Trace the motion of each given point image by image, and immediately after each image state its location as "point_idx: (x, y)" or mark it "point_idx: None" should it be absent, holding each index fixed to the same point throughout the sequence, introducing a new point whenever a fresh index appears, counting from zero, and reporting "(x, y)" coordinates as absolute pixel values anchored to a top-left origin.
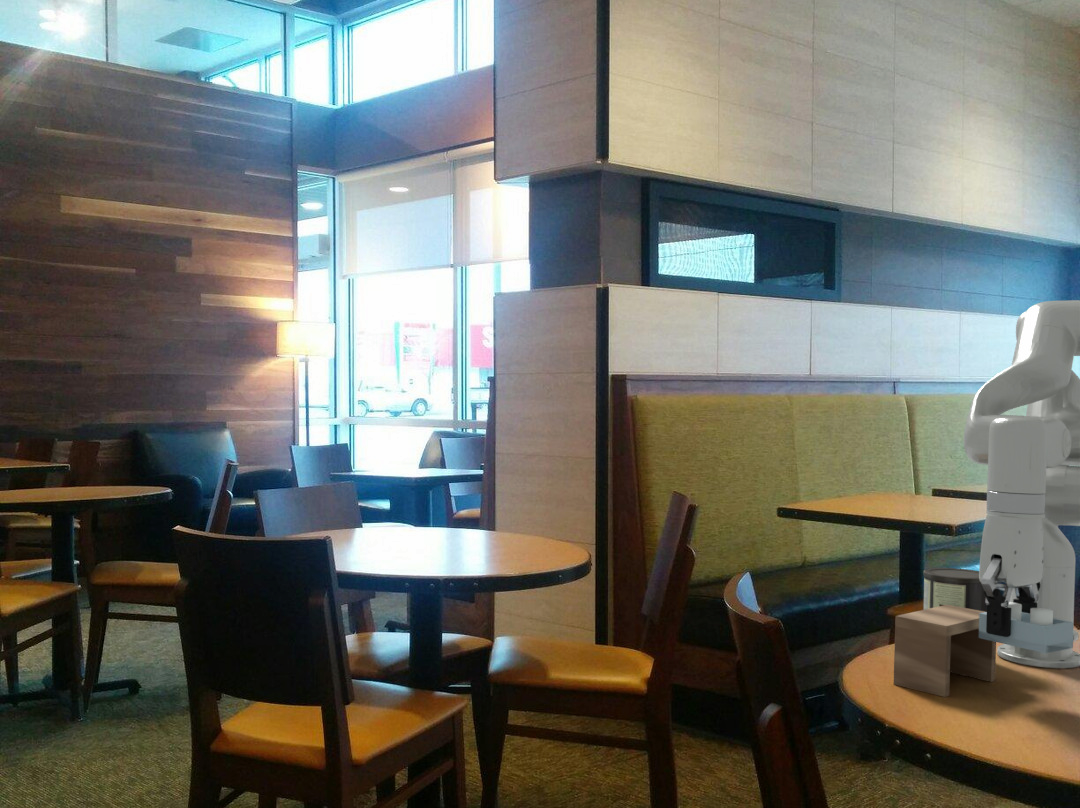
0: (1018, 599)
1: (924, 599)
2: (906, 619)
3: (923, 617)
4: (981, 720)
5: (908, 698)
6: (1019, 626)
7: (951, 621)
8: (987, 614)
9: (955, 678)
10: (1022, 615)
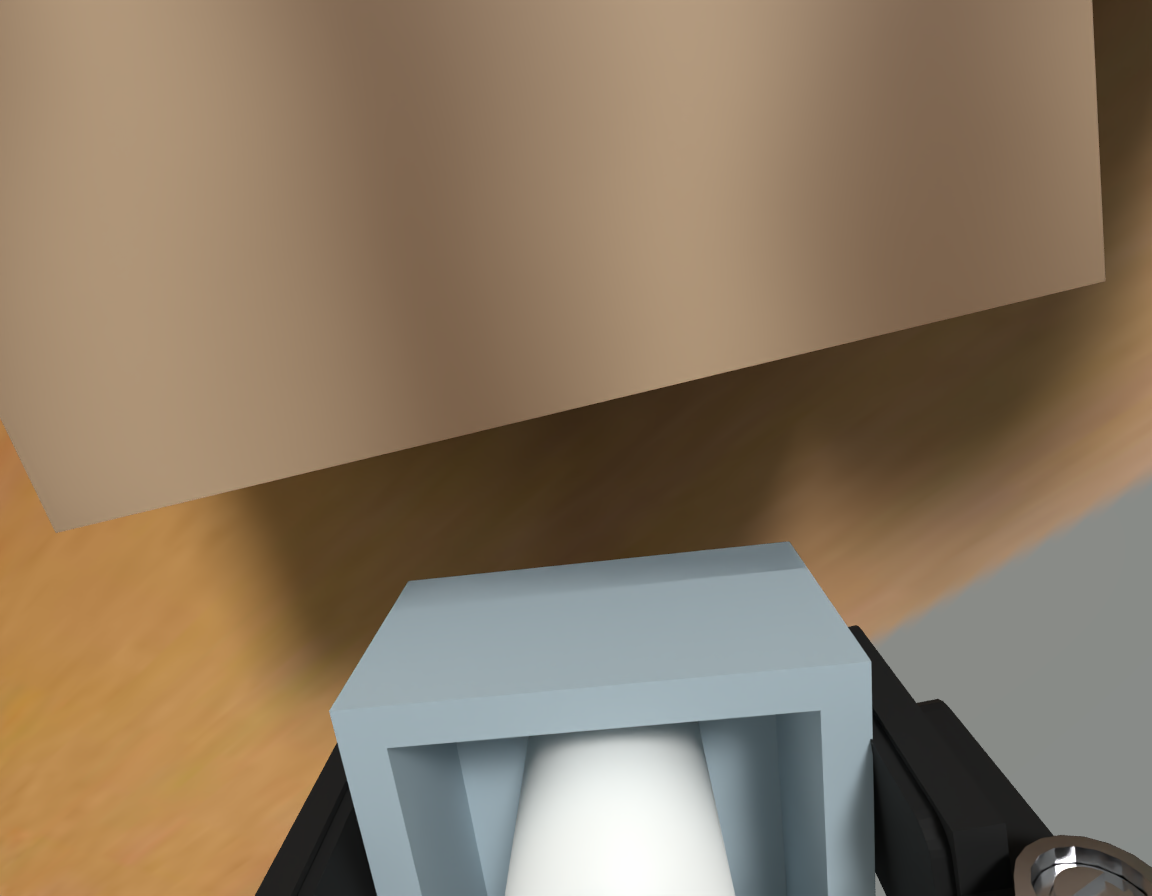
0: (1007, 864)
1: None
2: None
3: (65, 111)
4: (244, 686)
5: None
6: None
7: (245, 398)
8: (279, 862)
9: None
10: (820, 836)
